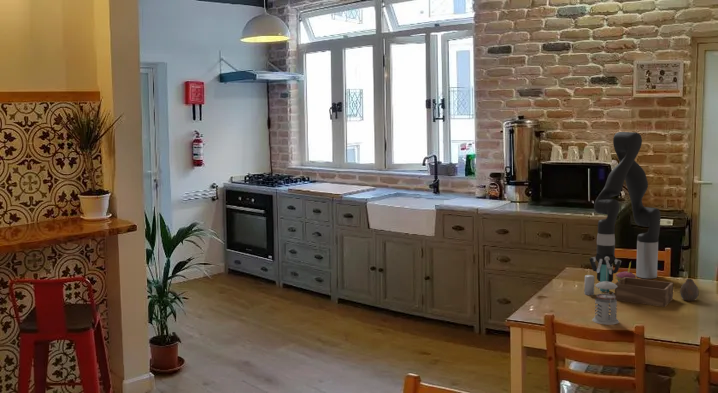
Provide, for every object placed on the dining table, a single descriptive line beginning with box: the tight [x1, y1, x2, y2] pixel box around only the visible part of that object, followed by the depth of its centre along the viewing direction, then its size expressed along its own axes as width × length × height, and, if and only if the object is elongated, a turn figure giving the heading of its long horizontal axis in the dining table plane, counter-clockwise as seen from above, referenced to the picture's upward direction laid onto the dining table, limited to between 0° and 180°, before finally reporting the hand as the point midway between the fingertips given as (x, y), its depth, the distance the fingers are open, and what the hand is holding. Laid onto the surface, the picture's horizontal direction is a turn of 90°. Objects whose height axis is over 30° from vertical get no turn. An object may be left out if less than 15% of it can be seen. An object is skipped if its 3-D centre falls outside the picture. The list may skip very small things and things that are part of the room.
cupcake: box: [615, 261, 637, 282], centre depth 321 cm, size 9×8×12 cm
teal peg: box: [599, 264, 610, 293], centre depth 315 cm, size 4×4×12 cm
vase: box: [679, 278, 699, 302], centre depth 298 cm, size 7×7×9 cm
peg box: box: [614, 277, 674, 308], centre depth 300 cm, size 14×20×7 cm
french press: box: [591, 257, 620, 326], centre depth 270 cm, size 10×12×25 cm
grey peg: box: [583, 274, 595, 296], centre depth 311 cm, size 4×4×8 cm
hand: (604, 281), depth 316 cm, fingers closed on teal peg, 4 cm apart
